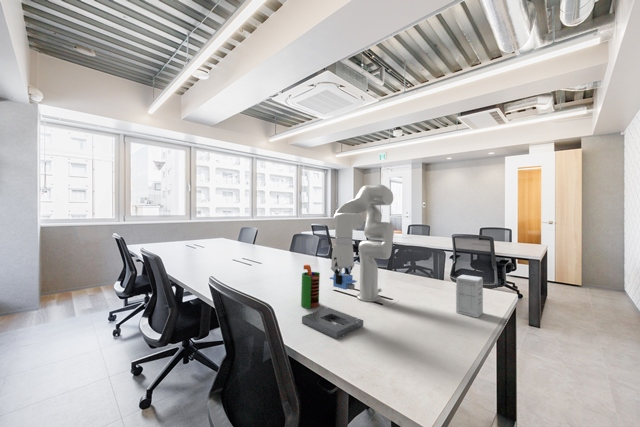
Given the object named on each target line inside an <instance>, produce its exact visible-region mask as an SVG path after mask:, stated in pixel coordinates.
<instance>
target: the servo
mask: <svg viewBox="0 0 640 427" xmlns="http://www.w3.org/2000/svg"><path fill="white" fill-rule="evenodd" d="M341 275H342V285H339V284H336V275H335V273H333V276H332V277H331V276H330V277H329V280H333V282H332V283H333V285H332V286H333V287H335V288H338V289H341V290H350V291H352V290H355V286H356V285H355V283H357V281H358V280H355V279H353V278H354V277H353V276H354V275H352V274H345V272H341Z"/></svg>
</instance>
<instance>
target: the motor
mask: <svg viewBox="0 0 640 427" xmlns="http://www.w3.org/2000/svg"><path fill="white" fill-rule="evenodd" d="M303 270H306V272H302V273H301V291H300V292H301V294H300V296H301V297H300V298H301V299H300V307H302V308H304V309H312V308H313V309H315V308H318V307H320V274H321V273H320V272H318V271H312V268H311V265H309V264H304V265H303Z"/></svg>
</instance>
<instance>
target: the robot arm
mask: <svg viewBox="0 0 640 427" xmlns="http://www.w3.org/2000/svg"><path fill="white" fill-rule="evenodd" d="M393 202H394V194H393V191H392V190H391V189H390V188H388V187H387V185H384V184H367V185H363V186H362V187H361V188H359V190H358V192H357V194H356V195H355V197H354V198H353V199H350V200H349V201H347V202H345V203H343V204H342V205H340V206H339V207H338V209H337V210H336V211H335V213H334V215H333V218H332V224H333V226H334V227H335V229H334V230H335V232H334V236H335V237H334V241H335V242H334V244H333V246H332V251H331V262H330V263H331V267H330V270H331V271H333V272H334V273H333V274H335V275H336V284H339V285H342V275H341V273H343V271H342V270H344V273H345V274H350V275H352V270H353V268H354V267H355V263H354V260H355V259H354V258H355V257H354V253H355V252H354V245H353V231H354V230H361V228H363V227H364V229H363V230H364V231H363V232H364V234H363V235H364V236H365V238H367V239H364V240H361V241H360V242H359V244H358V253H359V254H358V255H359V293H358V294H357V295H356V298H357V299H358V300H360V301H363V302H367V303H368V302H372V303H373V302H378V301H380V300H381V295H380V294H379V293H381V292H382V291H383V290H382V289H381V288H379V287H378V280H379V278H378V276H379V266H378V263H377V261H376V260H375V259H377V260H378V259H380V260H388V259H390V257H391V255H392V250H393V242H394V229H395V228H394V225H393V224H392V223H391V222H389V221H388V222H386V221H382V218H383V215H382V212H381V210H380V209H379V208H378V207H377V206H390V205H392V204H393ZM364 212H366V218H365V219H364V216H363V215H362V214H361V213H364Z"/></svg>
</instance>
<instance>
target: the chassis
mask: <svg viewBox="0 0 640 427" xmlns="http://www.w3.org/2000/svg"><path fill="white" fill-rule="evenodd" d="M330 321H334V322H336V323H333V322H330ZM301 323H302V324H304V325H305V326H308V327H310V328H312V329H314V330H316V331H318V332H321V333H323V334H325V335H327V336H330V337H331V338H333V339H336V340H337V339H341V338H342V337H344V336H347V335H349V334H351V333H354V332H355V331H357V330H359V329H363V328H364V319H361V318H358V317H355V316H352V315H351V314H347V313H344V312H342V311H339V310H337V309H334V308H330V307H326V308H324V309H320V310H317V311H315V312H312V313H308V314H306V315H302V316H301Z"/></svg>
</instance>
